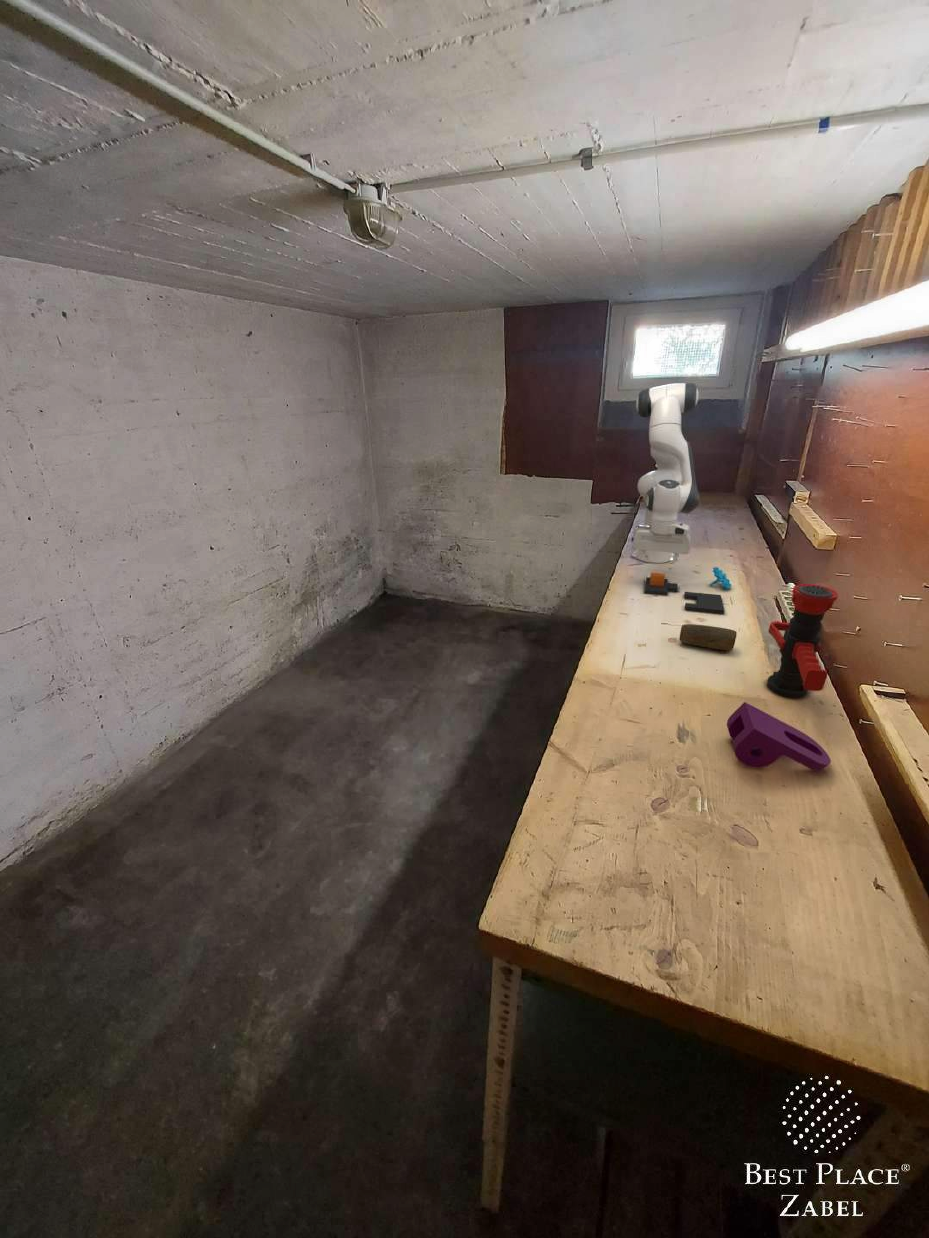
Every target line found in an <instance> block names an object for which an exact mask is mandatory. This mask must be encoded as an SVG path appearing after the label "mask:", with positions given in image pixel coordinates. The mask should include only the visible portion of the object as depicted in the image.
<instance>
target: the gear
mask: <svg viewBox="0 0 929 1238" xmlns="http://www.w3.org/2000/svg"><path fill="white" fill-rule="evenodd" d="M712 573H713V575H714V577H715V578H716V579H715V580H714V581H712V582H711V583H709V586H710V587H712V586H714V585H715V584H717V583H721V584H720V585H721V586H722V587H723V588H725V589H726V590H731V589H732V583H731V581H730V579H729V578H727V573H726V572H723V570H722V569H720V568H719V567H718V566H714V567H712Z"/></svg>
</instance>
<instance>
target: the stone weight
mask: <svg viewBox="0 0 929 1238" xmlns="http://www.w3.org/2000/svg"><path fill="white" fill-rule="evenodd" d="M737 635H738V633H737V631H736V630H734V629H730V628H726V627H719V626H713V625H704V624H695V623H685V624H682V625H681V627H680V632H679V637H678V640H679V641H680V642H682V643H685V644H688V645H692V646H696V647H700V648H701V647H703V648H708V649H713V650H719V651H721V650H722V651H732V650H733V649H734V647H735V644H736V640H737Z"/></svg>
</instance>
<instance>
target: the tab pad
mask: <svg viewBox="0 0 929 1238" xmlns="http://www.w3.org/2000/svg"><path fill="white" fill-rule="evenodd" d="M668 580H669V579H668V578H666V573H659V572H650V576H646V578H645V584H644V585H645V586H644V592H643V593H644V594H647V595H655V596H668V593H669V592H670V593H678V592H679V591H678V590H679V584H678V583H676V582H669V581H668Z"/></svg>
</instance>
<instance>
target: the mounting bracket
mask: <svg viewBox="0 0 929 1238" xmlns="http://www.w3.org/2000/svg"><path fill="white" fill-rule="evenodd" d="M726 727H727V731H728V734H729V737H730V738H731V740H732V748H733V752H734V755H735V757H736V759H737V760H738V761H739V763H741V765H744V766H746V767H750V768H759V769H760V768H764V767H768V766H770V765H773V764H774V763H775V762H776V761H777V760H778V759H779V758H781V757H782V756H784V757H787V758H788V759H791V760H793V761H795V762H797V763H798V764H800V765H802V766H804V767H806V768H808V769H810V770H812V771H815V772H822V771H823V770H825V769H826V768H828V766H830V765H831V763H832V761H831V757H830V756H829V754H828V753H827V752H826V750H825V749H824V748H823V746H821V745H820V744H819V743H818V742H817V741H816V740H814V739H813V738H812V736H811V737H810V736H809V735H808V734H806V733H804V732H803V731H801V730H800V729H798V728H796V727H794V726H791V725H789V724H787V723H786V722H785V721H782V720H780V719H778V718H776V717H774V716H772V715H771V714H768V713H767V712H765V711H763V710H761V709H759V708H757V707H756V706H753V705H751V704H750V703H748V702H746V701H744V702H743V703H742V704H740V706H739V707H737V709H736V710H735V711H734V712H732V713H731V715H730V716H729V717H728V719H727V721H726Z"/></svg>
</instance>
